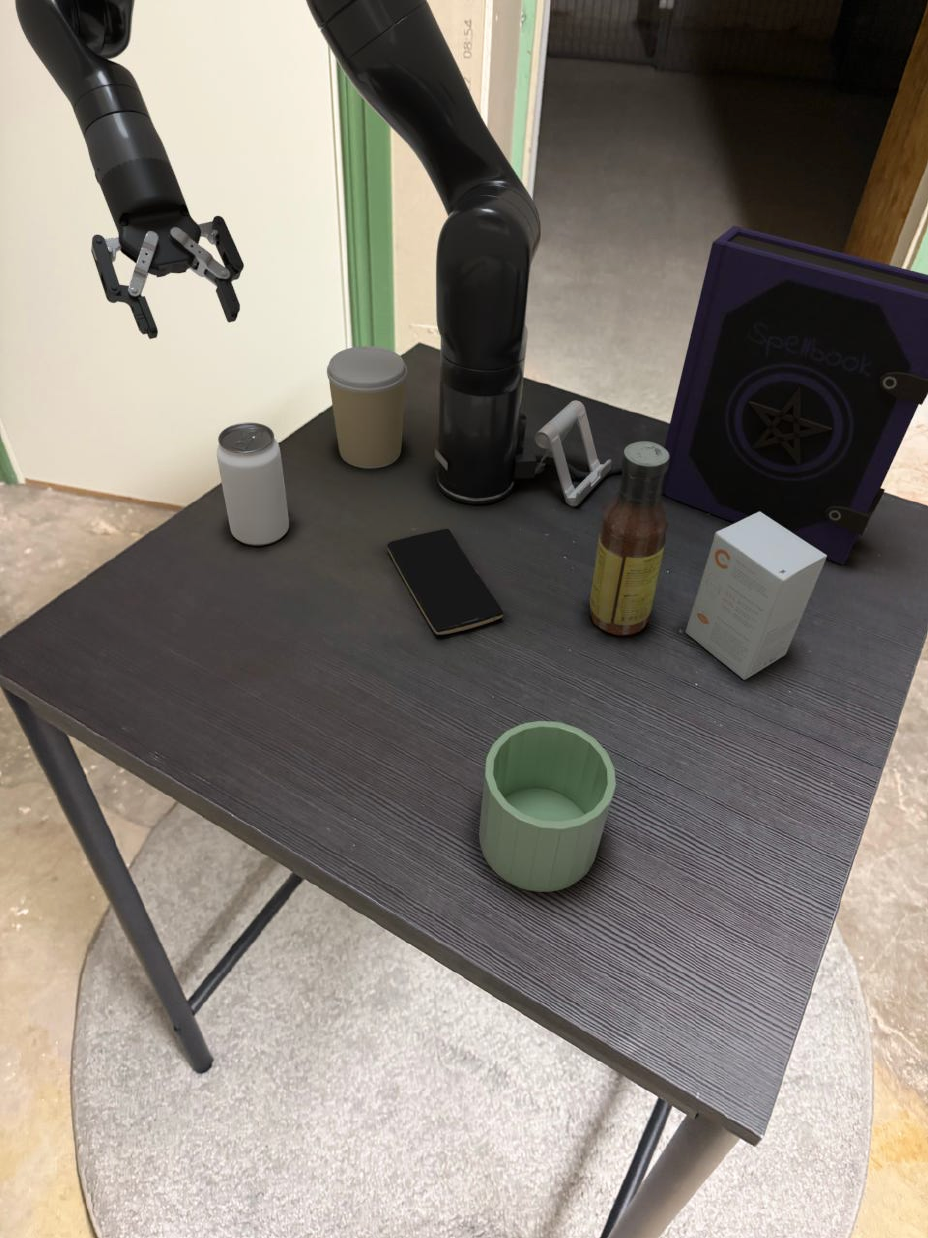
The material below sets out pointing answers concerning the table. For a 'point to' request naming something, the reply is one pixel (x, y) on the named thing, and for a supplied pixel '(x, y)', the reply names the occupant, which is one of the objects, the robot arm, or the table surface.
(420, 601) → the smartphone
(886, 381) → the book
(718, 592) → the small box
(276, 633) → the table surface
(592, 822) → the holder
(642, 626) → the sauce bottle
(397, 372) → the coffee cup
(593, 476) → the tablet stand
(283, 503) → the can
